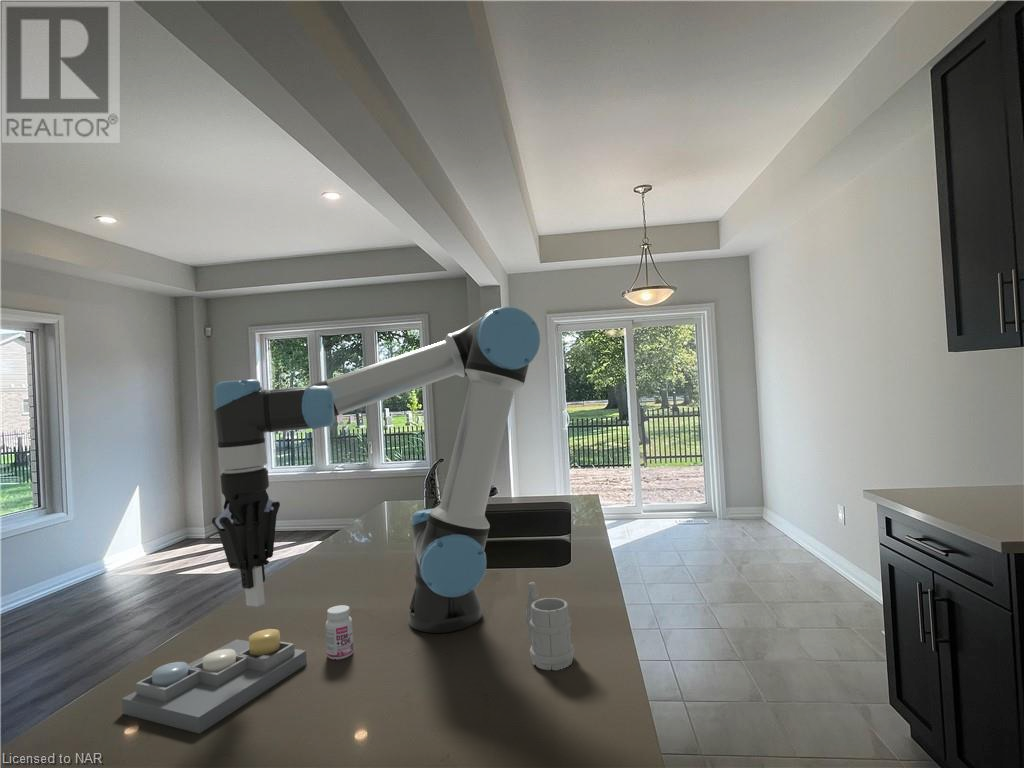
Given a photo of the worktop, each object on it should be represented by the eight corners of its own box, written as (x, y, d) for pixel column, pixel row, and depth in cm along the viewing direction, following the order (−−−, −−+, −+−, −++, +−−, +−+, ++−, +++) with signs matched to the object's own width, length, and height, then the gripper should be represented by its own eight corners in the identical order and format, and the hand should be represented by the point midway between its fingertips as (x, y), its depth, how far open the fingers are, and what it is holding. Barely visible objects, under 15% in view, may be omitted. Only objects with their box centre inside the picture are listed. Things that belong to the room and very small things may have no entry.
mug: (545, 676, 97) (541, 603, 97) (511, 649, 108) (507, 584, 108) (583, 663, 101) (579, 593, 101) (547, 638, 111) (543, 575, 111)
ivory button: (242, 665, 101) (242, 651, 101) (218, 679, 96) (217, 664, 96) (221, 661, 103) (220, 647, 103) (196, 674, 98) (195, 660, 98)
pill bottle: (339, 662, 106) (336, 615, 106) (321, 657, 109) (319, 611, 109) (359, 651, 110) (356, 606, 110) (341, 646, 113) (339, 602, 113)
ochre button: (286, 644, 105) (285, 630, 105) (264, 656, 100) (263, 642, 100) (265, 640, 107) (264, 627, 107) (242, 653, 102) (242, 639, 102)
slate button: (195, 678, 97) (194, 664, 97) (167, 694, 92) (166, 678, 92) (174, 674, 99) (173, 660, 99) (145, 689, 94) (144, 674, 94)
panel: (306, 663, 106) (305, 640, 106) (199, 733, 86) (197, 704, 86) (237, 651, 113) (236, 629, 113) (122, 713, 93) (121, 687, 93)
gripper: (256, 463, 110) (267, 589, 110) (195, 476, 98) (207, 617, 98) (288, 462, 107) (299, 591, 107) (229, 475, 95) (241, 621, 95)
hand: (255, 604), depth 102 cm, fingers closed
